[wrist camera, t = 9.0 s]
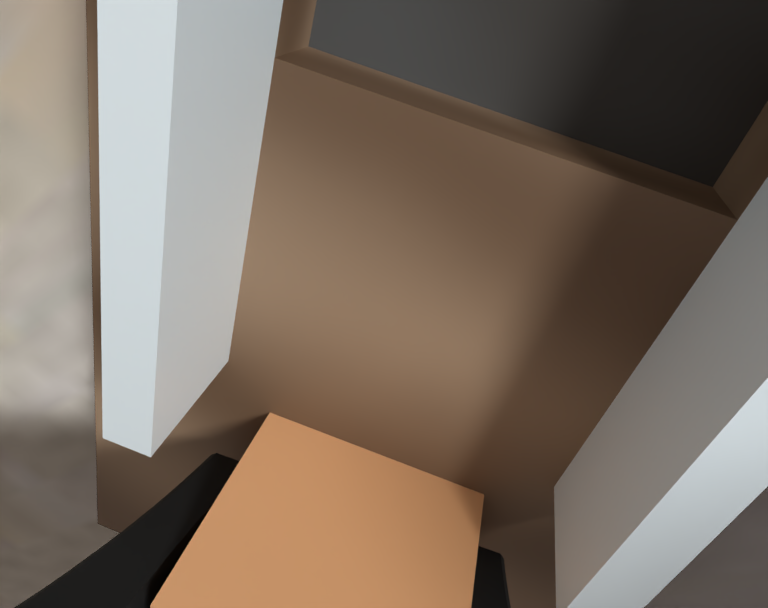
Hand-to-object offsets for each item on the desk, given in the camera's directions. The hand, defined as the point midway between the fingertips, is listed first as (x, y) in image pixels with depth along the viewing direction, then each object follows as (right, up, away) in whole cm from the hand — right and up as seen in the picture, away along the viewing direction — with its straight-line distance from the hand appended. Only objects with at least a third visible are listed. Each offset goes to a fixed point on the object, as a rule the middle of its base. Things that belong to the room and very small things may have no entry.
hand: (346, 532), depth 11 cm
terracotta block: (0, 0, +1) cm, 1 cm away
